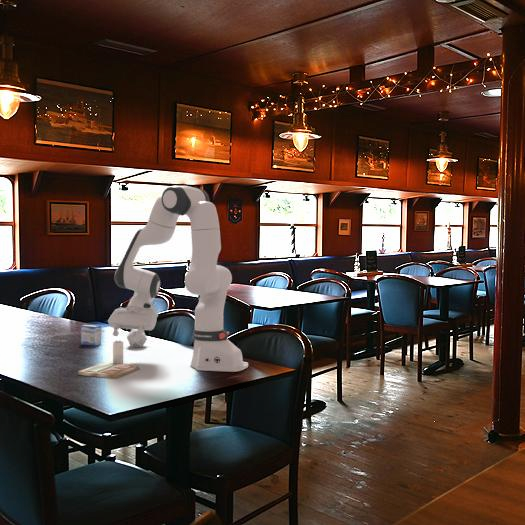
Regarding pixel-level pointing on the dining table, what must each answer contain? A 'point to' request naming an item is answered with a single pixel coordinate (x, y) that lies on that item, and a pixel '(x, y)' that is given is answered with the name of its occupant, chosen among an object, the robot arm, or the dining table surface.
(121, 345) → the salt shaker
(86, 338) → the medicine box
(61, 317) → the dining table surface
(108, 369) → the board
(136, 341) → the die
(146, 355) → the dining table surface
